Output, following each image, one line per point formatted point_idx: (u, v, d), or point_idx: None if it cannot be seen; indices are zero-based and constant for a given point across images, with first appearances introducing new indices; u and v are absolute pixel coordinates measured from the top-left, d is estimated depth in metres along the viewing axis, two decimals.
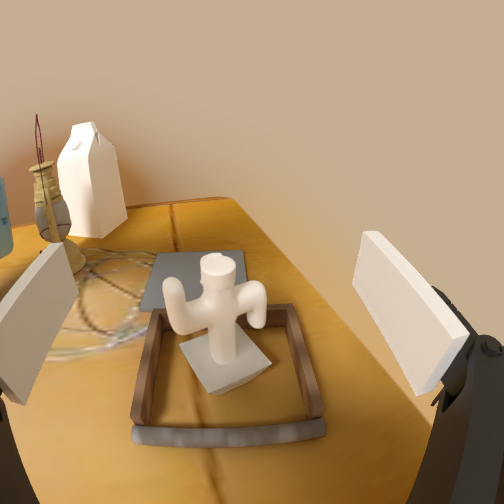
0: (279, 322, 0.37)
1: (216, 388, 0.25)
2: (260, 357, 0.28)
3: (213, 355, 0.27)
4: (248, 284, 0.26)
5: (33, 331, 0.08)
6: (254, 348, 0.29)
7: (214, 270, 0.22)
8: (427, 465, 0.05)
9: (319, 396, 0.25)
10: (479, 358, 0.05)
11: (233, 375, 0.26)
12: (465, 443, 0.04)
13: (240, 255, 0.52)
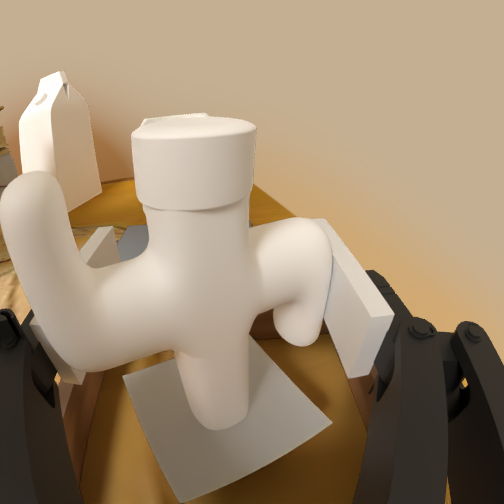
0: (321, 327, 0.20)
1: (201, 492, 0.08)
2: (304, 410, 0.11)
3: (193, 411, 0.10)
4: (286, 223, 0.09)
5: None
6: (288, 388, 0.12)
7: (173, 127, 0.05)
8: (368, 459, 0.05)
9: None
10: (407, 342, 0.06)
11: (242, 460, 0.09)
12: (398, 437, 0.04)
13: None
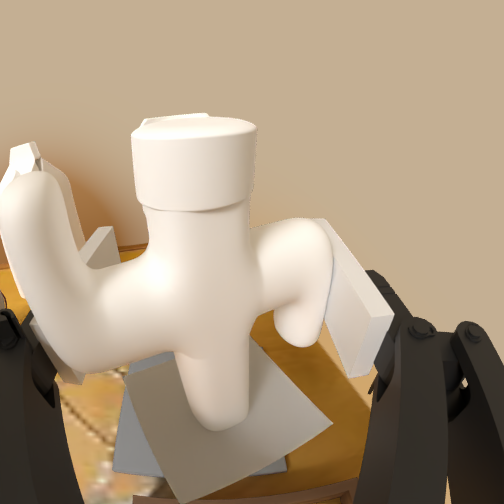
0: (334, 497, 0.17)
1: (202, 493, 0.08)
2: (304, 410, 0.11)
3: (193, 411, 0.10)
4: (287, 224, 0.09)
5: None
6: (289, 389, 0.12)
7: (173, 127, 0.05)
8: (367, 459, 0.05)
9: None
10: (407, 342, 0.06)
11: (242, 461, 0.09)
12: (398, 437, 0.04)
13: None
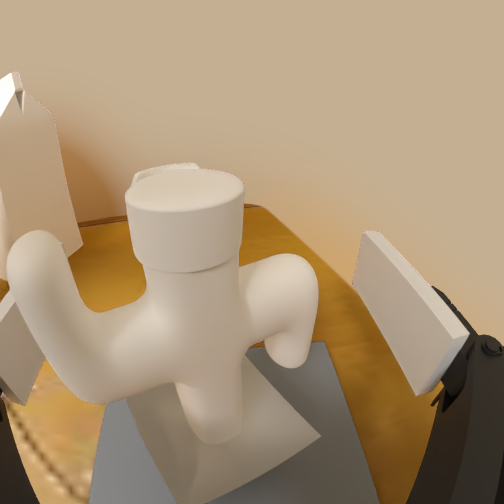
0: None
1: (202, 501, 0.08)
2: (294, 424, 0.12)
3: (192, 427, 0.11)
4: (274, 262, 0.10)
5: None
6: (280, 404, 0.13)
7: (165, 196, 0.06)
8: (427, 465, 0.05)
9: None
10: (479, 358, 0.05)
11: (237, 471, 0.10)
12: (465, 443, 0.04)
13: (324, 360, 0.20)
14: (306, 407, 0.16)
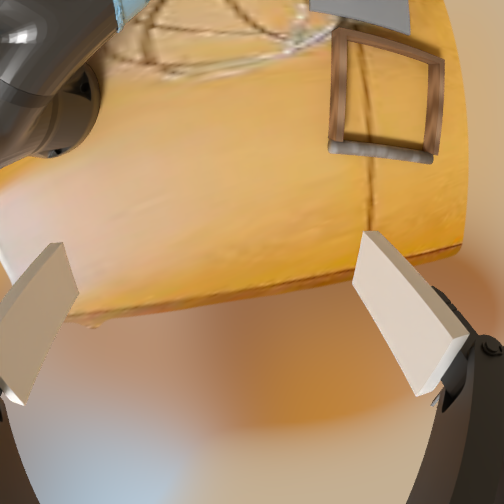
0: (428, 62, 0.31)
1: None
2: None
3: None
4: None
5: (33, 331, 0.08)
6: None
7: None
8: (427, 465, 0.05)
9: (438, 145, 0.35)
10: (479, 357, 0.05)
11: None
12: (465, 443, 0.04)
13: None
14: None
